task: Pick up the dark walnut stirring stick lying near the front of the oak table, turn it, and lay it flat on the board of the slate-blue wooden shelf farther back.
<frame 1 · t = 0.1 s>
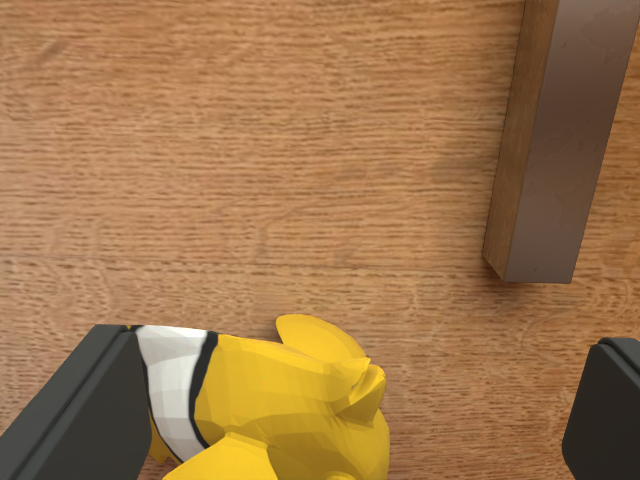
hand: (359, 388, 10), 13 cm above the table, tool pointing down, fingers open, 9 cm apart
stick: (545, 86, 20), on the table
fish: (255, 376, 26), on the table
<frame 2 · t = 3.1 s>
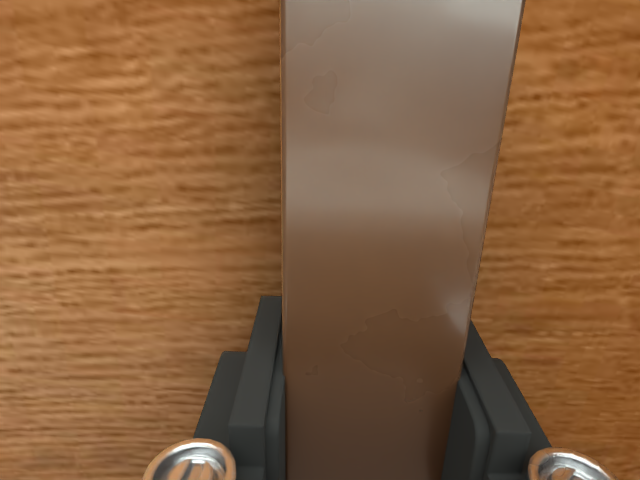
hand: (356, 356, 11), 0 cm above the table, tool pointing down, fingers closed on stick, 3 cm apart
stick: (355, 345, 11), on the table, touching gripper
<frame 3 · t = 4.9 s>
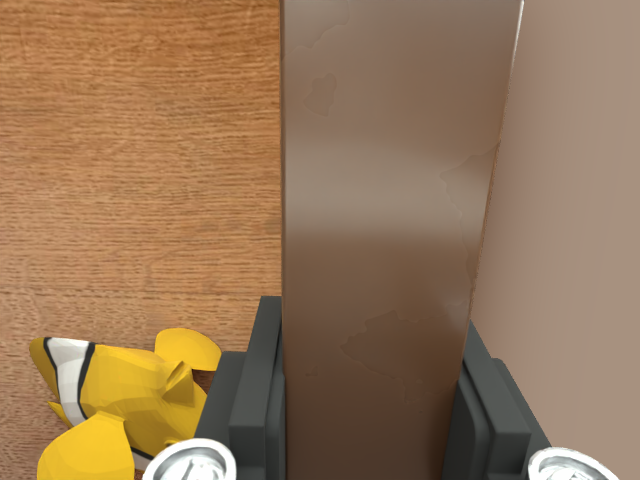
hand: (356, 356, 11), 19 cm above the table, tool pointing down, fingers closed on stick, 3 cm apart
stick: (355, 346, 11), point 19 cm above the table, touching gripper
fish: (154, 374, 34), on the table
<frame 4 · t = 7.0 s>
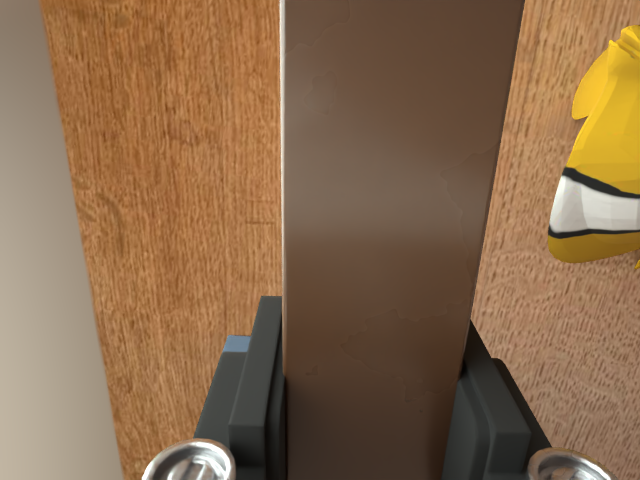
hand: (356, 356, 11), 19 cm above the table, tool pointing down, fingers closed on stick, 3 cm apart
stick: (355, 346, 11), point 19 cm above the table, touching gripper
fish: (632, 141, 28), on the table
shelf: (294, 442, 37), on the table
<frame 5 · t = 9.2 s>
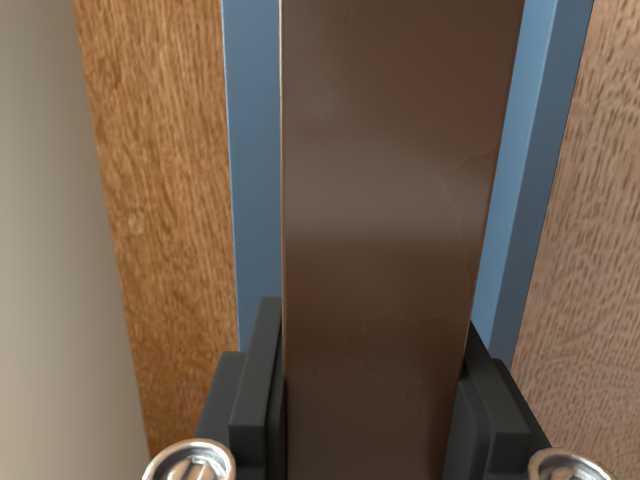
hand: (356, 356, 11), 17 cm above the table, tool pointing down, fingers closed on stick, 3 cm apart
stick: (355, 347, 11), point 16 cm above the table, touching gripper
shelf: (352, 173, 26), on the table
when the fingers open (10 cm above the table, at t = 11.0 s): stick stays where it is, resting on shelf.
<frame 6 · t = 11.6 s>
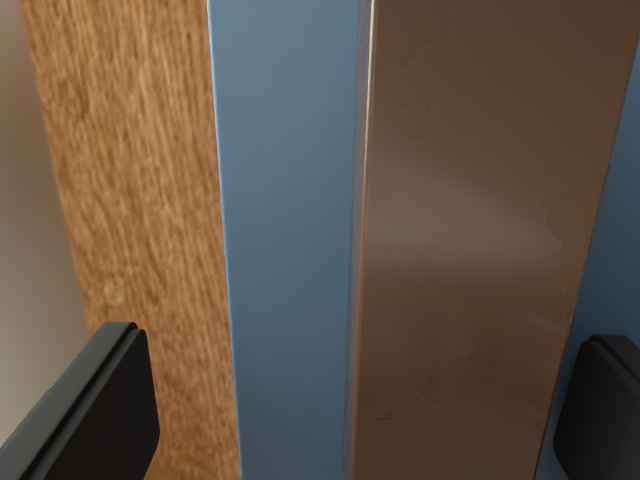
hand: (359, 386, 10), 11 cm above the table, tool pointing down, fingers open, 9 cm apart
stick: (411, 378, 10), point 10 cm above the table, touching shelf
shelf: (397, 226, 20), on the table
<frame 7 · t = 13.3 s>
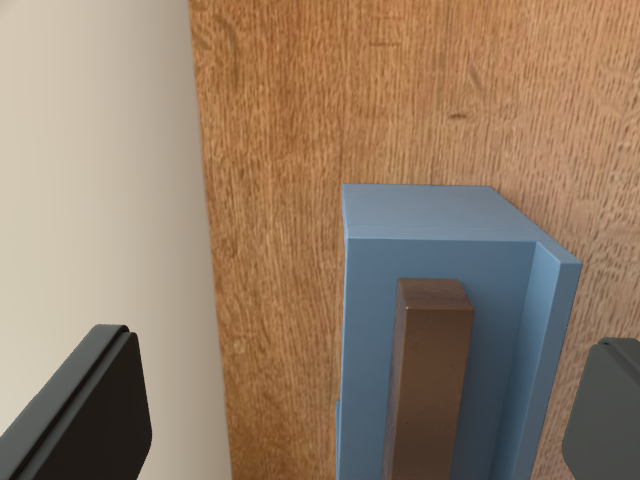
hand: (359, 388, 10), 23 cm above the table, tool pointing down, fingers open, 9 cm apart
stick: (413, 406, 26), point 10 cm above the table, touching shelf
shelf: (404, 312, 35), on the table
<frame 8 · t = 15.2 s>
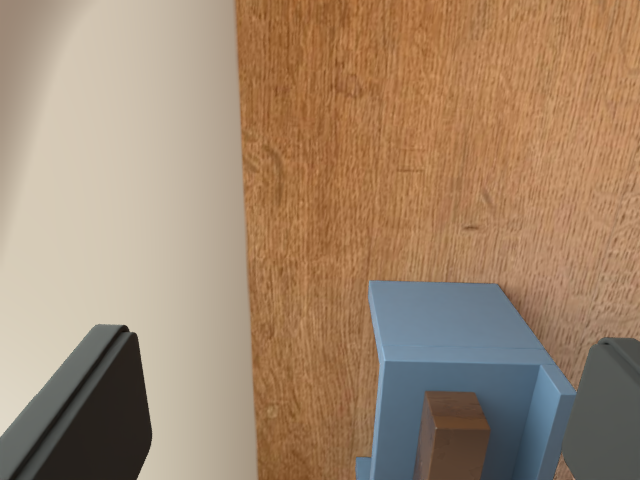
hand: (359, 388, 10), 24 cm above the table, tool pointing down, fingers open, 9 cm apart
shelf: (419, 384, 40), on the table
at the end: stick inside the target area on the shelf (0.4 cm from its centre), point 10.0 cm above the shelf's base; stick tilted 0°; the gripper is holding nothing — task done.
